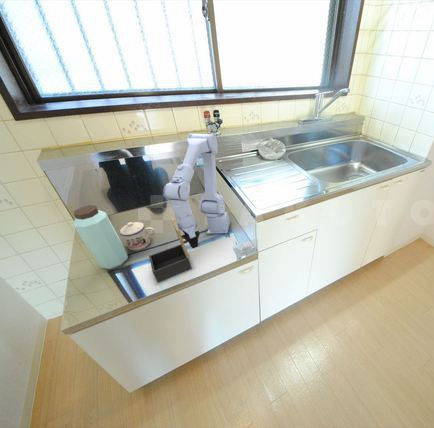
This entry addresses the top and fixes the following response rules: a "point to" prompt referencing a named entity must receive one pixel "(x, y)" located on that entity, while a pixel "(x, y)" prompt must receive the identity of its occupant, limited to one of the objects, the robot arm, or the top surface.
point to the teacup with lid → (136, 235)
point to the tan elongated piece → (180, 237)
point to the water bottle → (100, 237)
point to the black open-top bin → (169, 263)
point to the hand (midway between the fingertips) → (192, 242)
